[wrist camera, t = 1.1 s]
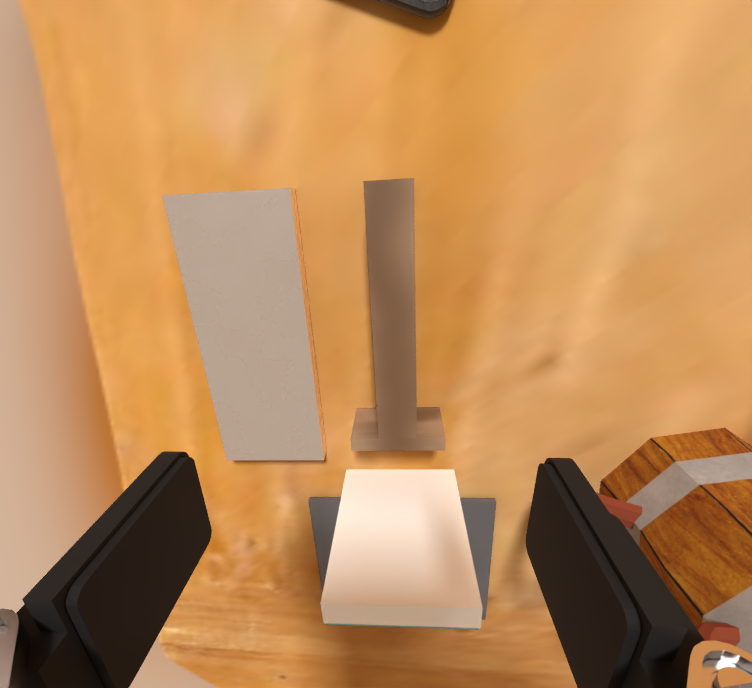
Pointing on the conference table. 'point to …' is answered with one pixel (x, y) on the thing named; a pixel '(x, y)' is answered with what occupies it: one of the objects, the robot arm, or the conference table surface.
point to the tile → (401, 554)
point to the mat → (476, 520)
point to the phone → (420, 6)
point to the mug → (693, 524)
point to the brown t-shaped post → (394, 327)
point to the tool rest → (251, 319)
